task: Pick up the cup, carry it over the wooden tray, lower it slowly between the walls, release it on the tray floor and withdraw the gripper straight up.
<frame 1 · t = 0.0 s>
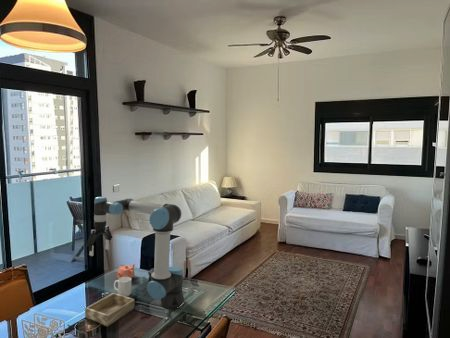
hand: (99, 252, 212), 28 cm above the table, fingers open, 13 cm apart
cup: (121, 294, 215), on the table
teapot: (126, 279, 238), on the table
container: (156, 284, 233), on the table
wooden tray: (110, 313, 191), on the table
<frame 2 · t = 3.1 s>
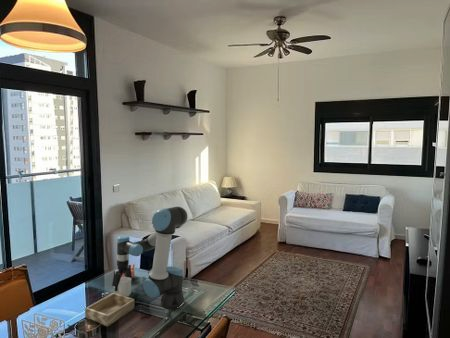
hand: (121, 292, 215), 1 cm above the table, fingers open, 9 cm apart
cup: (121, 294, 215), on the table, touching gripper
everything else where it was.
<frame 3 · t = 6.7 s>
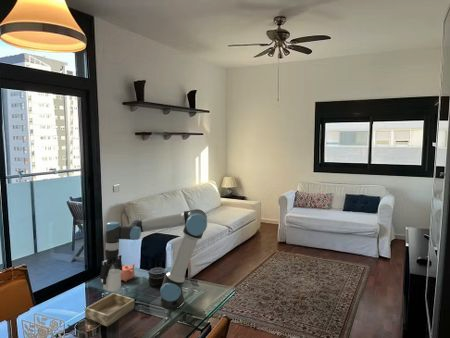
hand: (111, 286, 189), 17 cm above the table, fingers closed on cup, 8 cm apart
cup: (110, 288, 189), point 16 cm above the table, touching gripper
everything else where it was.
when the fingers open (3 cm above the table, at t = 9.8 s): cup drops 2 cm, resting on wooden tray.
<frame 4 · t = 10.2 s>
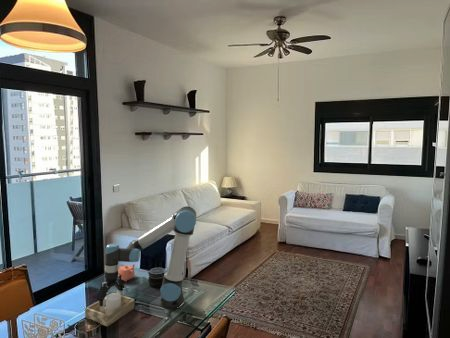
hand: (110, 305, 190), 5 cm above the table, fingers open, 13 cm apart
cup: (109, 313, 190), resting on wooden tray
everything else where it was.
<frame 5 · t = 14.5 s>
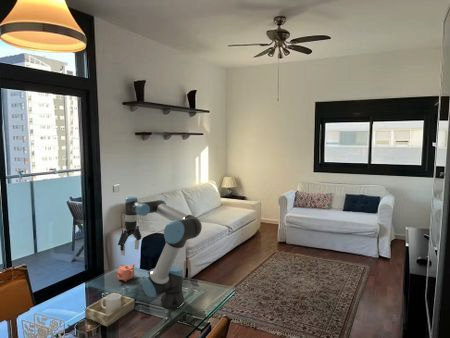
hand: (129, 252, 213), 29 cm above the table, fingers open, 13 cm apart
nothing on the table moved.
at the end: cup inside the target area on the wooden tray (0.5 cm from its centre), point 0.4 cm above the wooden tray's base; cup tilted 0°; the gripper is holding nothing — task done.
